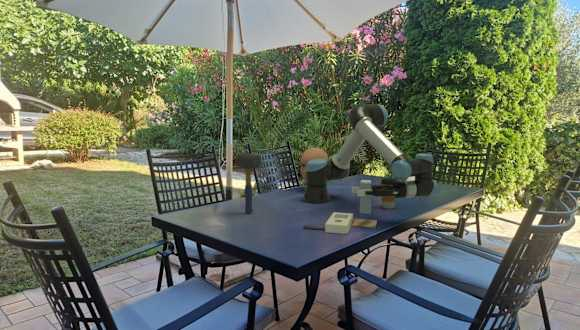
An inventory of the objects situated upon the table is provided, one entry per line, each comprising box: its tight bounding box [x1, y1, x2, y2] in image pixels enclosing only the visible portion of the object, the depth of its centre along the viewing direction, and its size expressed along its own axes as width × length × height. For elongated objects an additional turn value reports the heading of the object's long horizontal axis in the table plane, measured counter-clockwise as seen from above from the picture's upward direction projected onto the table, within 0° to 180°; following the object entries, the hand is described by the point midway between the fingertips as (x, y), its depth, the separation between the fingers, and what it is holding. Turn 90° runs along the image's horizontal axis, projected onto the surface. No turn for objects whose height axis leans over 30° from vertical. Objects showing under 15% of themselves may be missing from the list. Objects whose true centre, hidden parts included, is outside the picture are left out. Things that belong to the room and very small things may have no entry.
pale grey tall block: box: [359, 179, 372, 215], centre depth 162 cm, size 4×4×14 cm
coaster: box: [351, 218, 378, 229], centre depth 164 cm, size 10×10×1 cm
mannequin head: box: [299, 147, 329, 184], centre depth 238 cm, size 16×22×28 cm
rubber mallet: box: [234, 152, 262, 215], centre depth 181 cm, size 12×8×30 cm, turn 52°
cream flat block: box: [302, 211, 354, 235], centre depth 161 cm, size 19×20×4 cm
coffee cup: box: [380, 177, 397, 210], centre depth 192 cm, size 8×8×15 cm
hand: (354, 191), depth 161 cm, fingers closed on pale grey tall block, 6 cm apart
